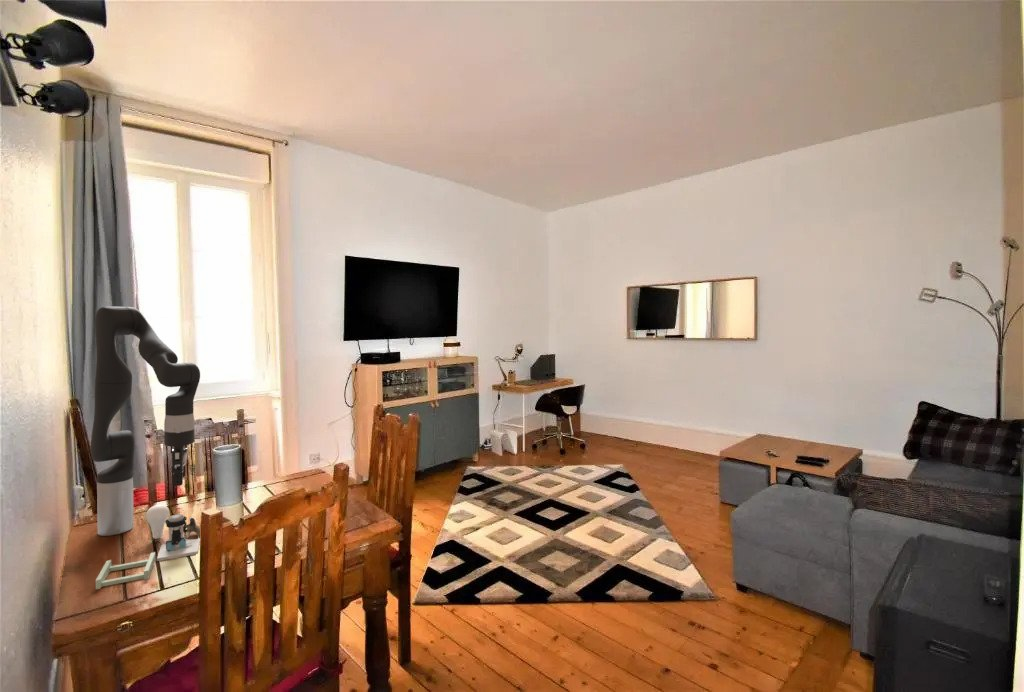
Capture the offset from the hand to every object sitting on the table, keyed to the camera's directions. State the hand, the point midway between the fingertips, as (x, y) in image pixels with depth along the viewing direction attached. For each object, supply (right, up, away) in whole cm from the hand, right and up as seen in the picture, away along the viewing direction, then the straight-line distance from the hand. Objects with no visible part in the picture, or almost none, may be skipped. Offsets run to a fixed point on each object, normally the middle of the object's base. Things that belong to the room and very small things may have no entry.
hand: (179, 481), depth 144 cm
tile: (0, -22, +1) cm, 22 cm away
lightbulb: (-13, -21, +8) cm, 26 cm away
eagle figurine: (-3, -21, +11) cm, 24 cm away
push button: (-1, -21, +1) cm, 21 cm away
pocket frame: (-5, -22, -14) cm, 26 cm away
